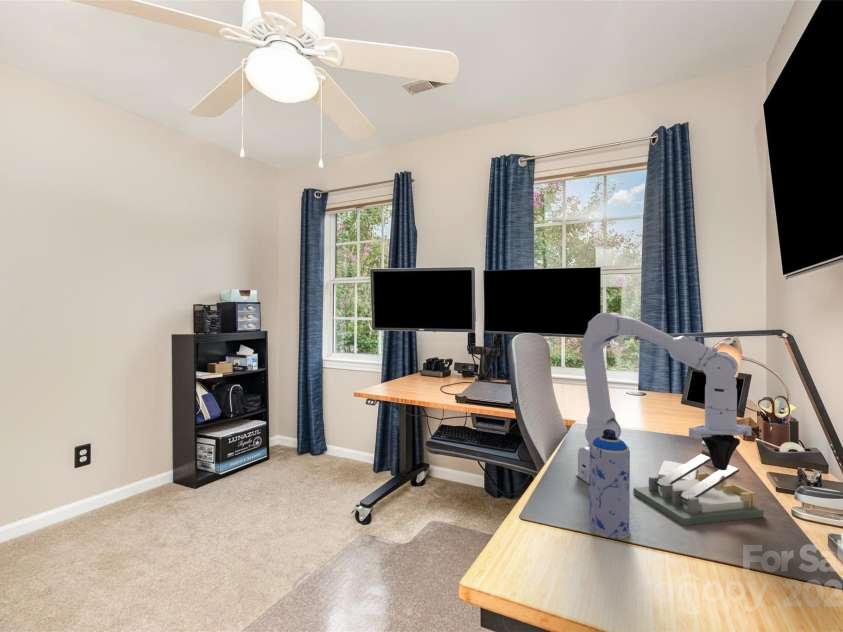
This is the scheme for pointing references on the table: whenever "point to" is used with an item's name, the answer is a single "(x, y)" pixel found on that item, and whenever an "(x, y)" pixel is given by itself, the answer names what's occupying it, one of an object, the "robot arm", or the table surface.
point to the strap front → (709, 483)
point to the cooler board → (693, 518)
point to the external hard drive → (671, 466)
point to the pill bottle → (706, 454)
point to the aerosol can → (609, 486)
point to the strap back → (684, 470)
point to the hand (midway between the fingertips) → (720, 468)
